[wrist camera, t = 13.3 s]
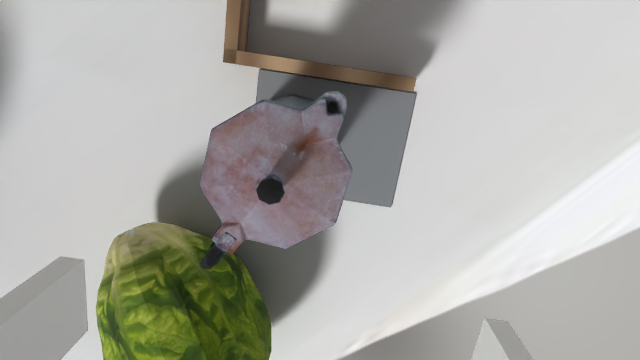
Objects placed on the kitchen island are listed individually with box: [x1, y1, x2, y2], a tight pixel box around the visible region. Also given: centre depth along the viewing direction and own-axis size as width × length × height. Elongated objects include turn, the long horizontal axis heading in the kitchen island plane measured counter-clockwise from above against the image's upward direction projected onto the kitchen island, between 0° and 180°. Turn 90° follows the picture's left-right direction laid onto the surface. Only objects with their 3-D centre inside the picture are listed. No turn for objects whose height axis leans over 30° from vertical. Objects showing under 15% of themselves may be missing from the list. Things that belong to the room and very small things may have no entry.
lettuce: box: [96, 222, 271, 360], centre depth 39 cm, size 16×21×15 cm
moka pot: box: [199, 91, 353, 269], centre depth 30 cm, size 10×15×20 cm, turn 146°
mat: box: [256, 69, 416, 207], centre depth 40 cm, size 16×12×1 cm
